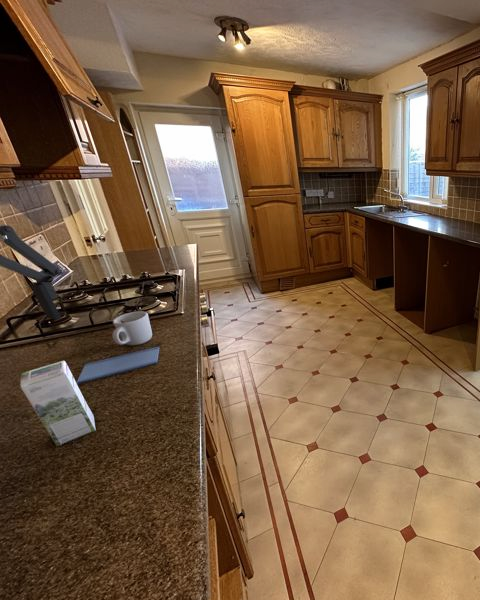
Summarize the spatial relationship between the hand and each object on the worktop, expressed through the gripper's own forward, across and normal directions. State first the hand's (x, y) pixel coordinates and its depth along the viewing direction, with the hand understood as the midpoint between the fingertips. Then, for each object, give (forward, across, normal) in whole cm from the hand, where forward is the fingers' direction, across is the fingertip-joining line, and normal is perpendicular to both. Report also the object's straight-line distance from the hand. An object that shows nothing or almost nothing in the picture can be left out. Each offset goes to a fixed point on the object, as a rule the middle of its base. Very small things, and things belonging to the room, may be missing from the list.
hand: (0, 336), depth 51 cm
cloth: (+24, +21, +18) cm, 37 cm away
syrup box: (+24, +3, +2) cm, 24 cm away
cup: (+24, +30, +26) cm, 46 cm away
